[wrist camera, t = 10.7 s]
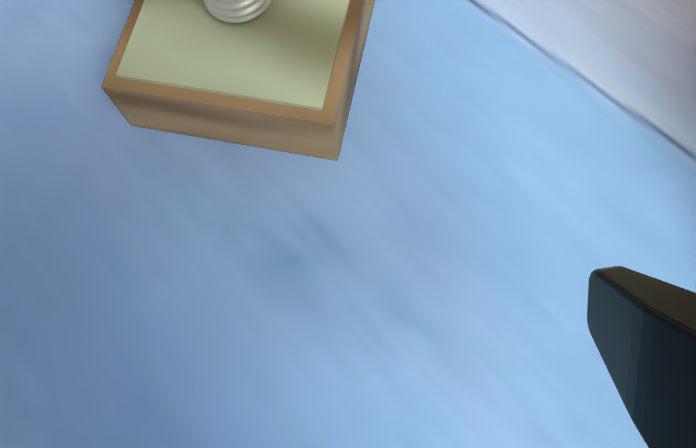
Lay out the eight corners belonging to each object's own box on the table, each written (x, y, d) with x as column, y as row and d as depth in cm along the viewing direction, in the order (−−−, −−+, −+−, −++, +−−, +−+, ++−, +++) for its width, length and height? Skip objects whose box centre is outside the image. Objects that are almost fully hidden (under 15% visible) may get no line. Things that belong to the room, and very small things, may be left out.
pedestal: (337, 160, 25) (332, 122, 22) (131, 125, 26) (99, 83, 23) (378, -15, 28) (378, -71, 25) (191, -41, 29) (170, -98, 26)
